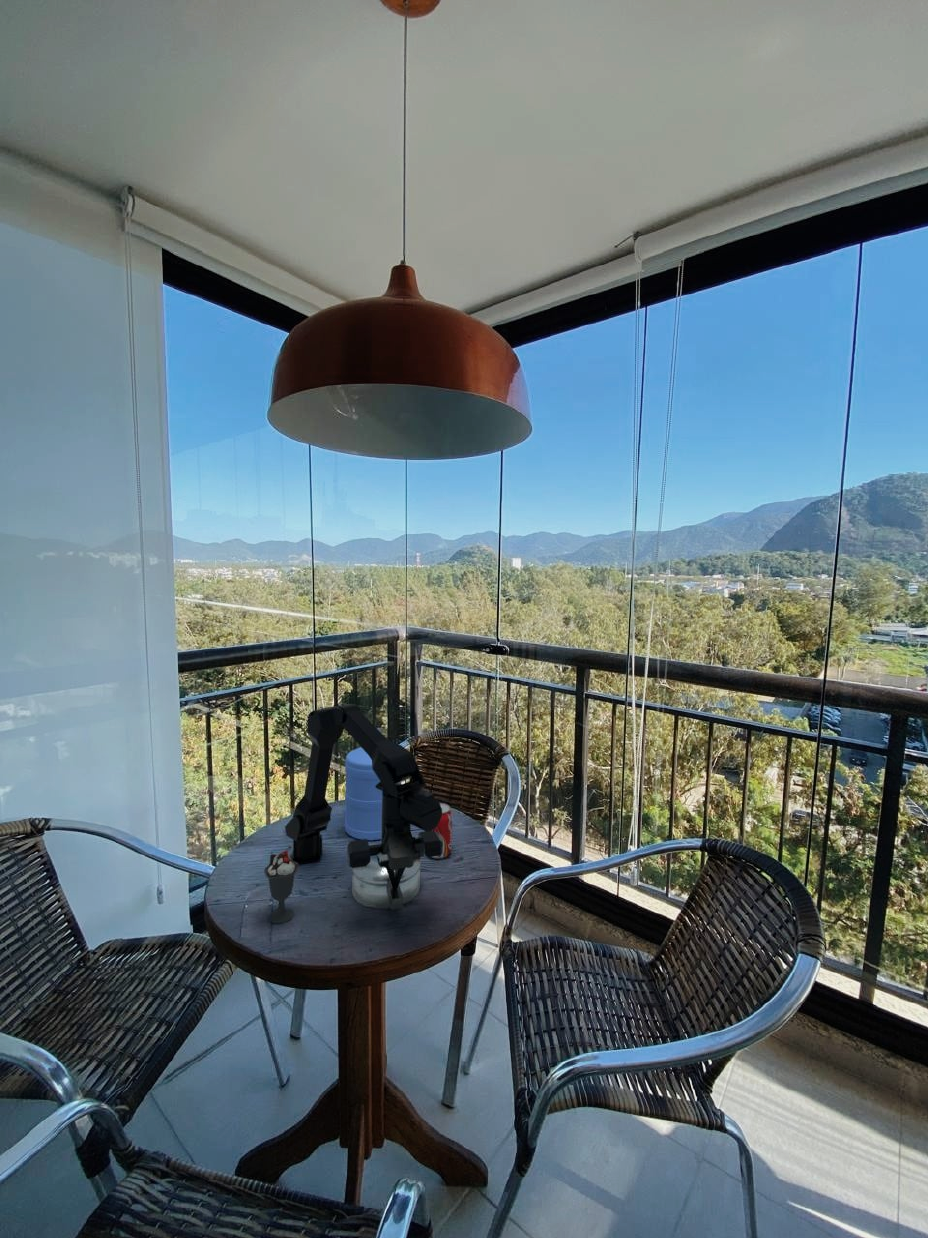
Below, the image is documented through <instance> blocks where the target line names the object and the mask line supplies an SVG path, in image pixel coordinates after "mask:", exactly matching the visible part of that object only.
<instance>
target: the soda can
mask: <svg viewBox="0 0 928 1238" xmlns="http://www.w3.org/2000/svg"><path fill="white" fill-rule="evenodd" d="M439 804H440V805H441V808H442V816H441V819H440V822H439V823H438V825H437V826H436V828H435V829H433V830H432V831H434V830H435V831H436V832H437V833H438V835H439V837H440V839H441V841H442V844H443V854H442V855H440V856H433V857H431V858H432V859H437V860H439V859H444V858H446V857H448V856H449V855H450V854H451V852H452V845H453V812H452V811H451V805H448V804H447V803H443V802H439ZM424 832H426V831H424Z"/></svg>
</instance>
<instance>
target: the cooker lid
mask: <svg viewBox="0 0 928 1238" xmlns="http://www.w3.org/2000/svg"><path fill="white" fill-rule="evenodd" d="M419 869H420V870H421V858H420V859H418V860H415V861H414V865H413V866H412V867H410V868H407V867H406V868H405V870H404V872H403V875H402V877H401V880H400V883H402V882H405V881H407V880H409V879H411V878H412V877H414V876H415V875H416V874H417V873H418V871H419ZM351 872H353V874H354V876H355V877H356V878H357V879H358V880H360V881H362V882H364V883H367V884H370V885H376V886H387V887H388V891H389V894H390V898H391V902H392V904H396V903H402V902H403V895H402V892H401V889H400V886H399V885H398V888H397V889H395V890H393V888H392V884H391V881H390V878H389V875H388V872H387V870H386V868H385V867H380V866H379V865H378V861H377V857H376V855H375V856H370V863H369V864H368V865H367V866H364V867H357V868H351ZM394 872H395V870H394Z"/></svg>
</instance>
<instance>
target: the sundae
mask: <svg viewBox="0 0 928 1238" xmlns="http://www.w3.org/2000/svg"><path fill="white" fill-rule="evenodd" d="M291 849H293V846H290V845H288V847H287V849H285V850H283V851H282V852H281V853H278V854H275V853H274V854H270V856H269V857H270V858H269V864H268V865H267V866H265V868H264V869H263V873H264V875H265V877H266V878H268V885H269V891H270V895H271V898H273V900H275V901H277V902H278V908H276V909H274V910H273V911H271V913H270V914H269V915H268V921H269V922H270V923H272V924H275V925H276V924H278V925H279V924H284V923H287V922H289V921H290V920H291V919H293V917H294V915H295V911H294V910H293V908H291V907H286V906H285V900H287V899H288V898H289V897H290V895H292V892H293V889H294V880H295V874H296V873H297V871H298V869H299V867H300V864H298V863H297V862H294V861H293V859H292V858H291V857H290V855H289V851H290V850H291Z"/></svg>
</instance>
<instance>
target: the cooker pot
mask: <svg viewBox="0 0 928 1238" xmlns="http://www.w3.org/2000/svg"><path fill="white" fill-rule="evenodd" d="M351 872H352V871H351ZM351 874H352V877H351V878H352V879H351V883H352V884H351V891H352V892H351V893H352V897H353V898H354V900H355V901H357V903H359V904H361V905H363V906H365V907H368V908H371V909H390V910H392V911H393V910H397V909H403V908H404V905H405V904H407V903H409V902H410V901H412V900H414V898H416V896H417V895H418V893H419V891H420V888H421V887H420V883H421V881H420V878H421V868H420V869H419V871H418V873H417V874H416V875H415V876H414V877H412V878H411V879H409V880H407V881H405V882H402V883H399V886H400V889H401V892H402V895H403V902H402V903H396V904H392V902H391V898H390V894H389V891H388V887H387V886H376V885H370V884H367V883H364V882H362V881H360V880H358V879H357V878H356V877H355V876H354V874H353V872H352V873H351Z"/></svg>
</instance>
